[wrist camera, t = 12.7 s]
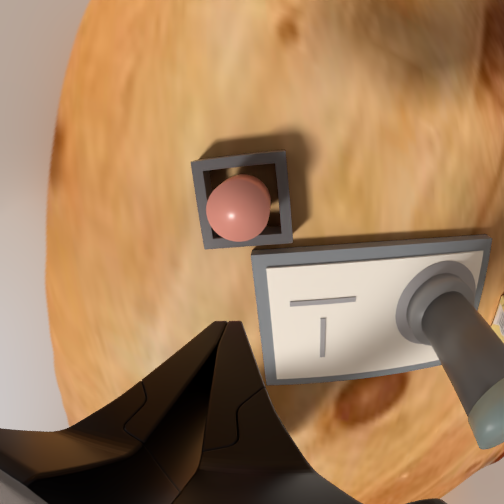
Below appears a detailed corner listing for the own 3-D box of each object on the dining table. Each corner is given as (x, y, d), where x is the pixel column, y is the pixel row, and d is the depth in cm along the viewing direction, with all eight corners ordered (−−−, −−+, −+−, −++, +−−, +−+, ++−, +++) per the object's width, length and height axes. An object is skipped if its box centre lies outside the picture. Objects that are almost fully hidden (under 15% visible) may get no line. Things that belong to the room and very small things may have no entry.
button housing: (210, 240, 22) (204, 249, 21) (198, 159, 20) (190, 162, 19) (292, 234, 22) (293, 243, 20) (285, 149, 20) (285, 151, 18)
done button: (219, 230, 20) (211, 243, 18) (211, 177, 19) (201, 183, 17) (273, 226, 20) (272, 239, 18) (268, 171, 19) (266, 177, 16)
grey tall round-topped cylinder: (394, 328, 22) (447, 460, 10) (427, 264, 20) (523, 382, 8) (444, 339, 23) (503, 451, 11) (477, 283, 20) (563, 383, 8)
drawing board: (267, 377, 27) (266, 387, 26) (252, 250, 22) (250, 257, 21) (457, 354, 25) (462, 361, 23) (486, 234, 20) (494, 239, 19)
